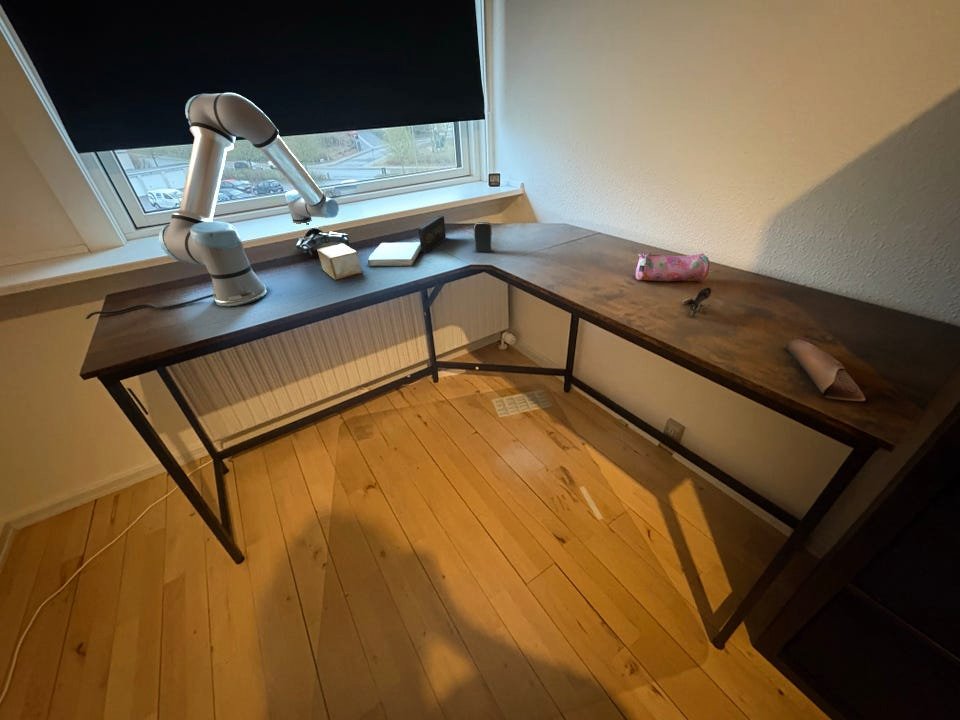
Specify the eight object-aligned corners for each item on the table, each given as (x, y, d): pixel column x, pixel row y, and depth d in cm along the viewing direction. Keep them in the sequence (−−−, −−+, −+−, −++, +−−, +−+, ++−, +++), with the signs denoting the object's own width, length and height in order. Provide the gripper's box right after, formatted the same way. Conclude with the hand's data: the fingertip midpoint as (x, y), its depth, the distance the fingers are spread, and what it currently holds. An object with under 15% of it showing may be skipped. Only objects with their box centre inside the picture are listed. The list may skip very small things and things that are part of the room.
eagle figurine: (715, 316, 102) (716, 297, 108) (706, 296, 100) (707, 278, 105) (685, 324, 108) (687, 305, 113) (675, 305, 105) (678, 287, 110)
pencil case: (636, 284, 124) (641, 257, 119) (631, 274, 131) (636, 248, 126) (705, 286, 121) (714, 259, 115) (697, 275, 128) (705, 249, 123)
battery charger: (492, 249, 157) (492, 221, 151) (491, 252, 154) (491, 223, 148) (476, 249, 158) (474, 221, 152) (474, 252, 155) (473, 223, 149)
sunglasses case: (871, 401, 74) (867, 376, 71) (826, 410, 77) (821, 387, 75) (824, 351, 88) (819, 329, 86) (788, 361, 92) (782, 340, 89)
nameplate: (442, 238, 172) (440, 215, 167) (445, 238, 172) (443, 215, 166) (421, 253, 156) (418, 228, 151) (425, 253, 156) (422, 228, 150)
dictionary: (322, 269, 144) (317, 249, 139) (347, 263, 149) (343, 243, 144) (335, 279, 135) (329, 258, 131) (361, 272, 140) (356, 251, 136)
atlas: (368, 266, 146) (367, 259, 144) (382, 248, 162) (381, 242, 161) (411, 265, 145) (410, 259, 143) (421, 248, 161) (420, 242, 160)
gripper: (277, 232, 148) (293, 244, 134) (339, 220, 160) (359, 230, 146) (284, 251, 152) (299, 265, 138) (343, 238, 164) (363, 249, 150)
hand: (330, 247), depth 142 cm, fingers open, 13 cm apart
